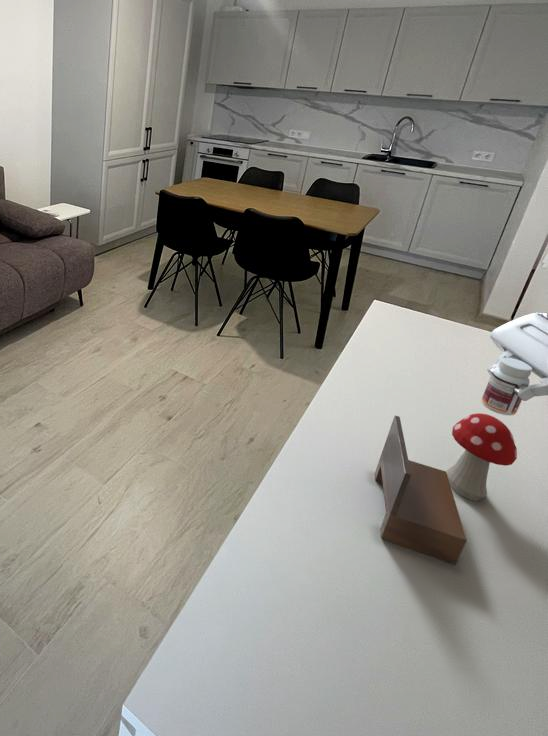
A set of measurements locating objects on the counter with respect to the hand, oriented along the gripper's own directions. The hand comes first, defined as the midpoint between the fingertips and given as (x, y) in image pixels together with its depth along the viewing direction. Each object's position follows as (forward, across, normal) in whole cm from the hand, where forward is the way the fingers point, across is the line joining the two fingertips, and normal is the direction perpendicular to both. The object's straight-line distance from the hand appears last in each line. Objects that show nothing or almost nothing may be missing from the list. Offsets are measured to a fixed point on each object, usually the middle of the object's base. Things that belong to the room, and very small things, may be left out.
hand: (504, 385), depth 80 cm
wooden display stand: (+24, +7, +8) cm, 26 cm away
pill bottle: (+3, 0, +4) cm, 5 cm away
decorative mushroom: (+15, -1, +17) cm, 23 cm away
